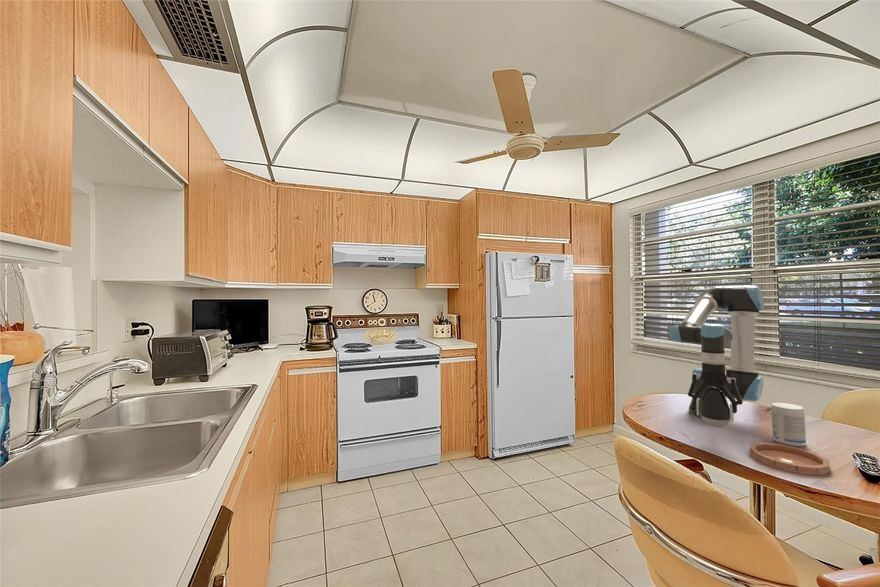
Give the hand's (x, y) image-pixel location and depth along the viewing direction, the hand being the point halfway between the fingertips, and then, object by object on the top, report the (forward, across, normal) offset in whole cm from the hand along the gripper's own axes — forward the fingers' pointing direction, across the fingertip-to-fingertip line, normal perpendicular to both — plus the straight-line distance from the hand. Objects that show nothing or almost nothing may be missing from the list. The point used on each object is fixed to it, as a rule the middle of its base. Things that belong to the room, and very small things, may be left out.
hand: (714, 417), depth 142 cm
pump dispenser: (+3, 0, 0) cm, 3 cm away
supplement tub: (+11, +20, +21) cm, 31 cm away
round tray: (+10, +21, -2) cm, 23 cm away
